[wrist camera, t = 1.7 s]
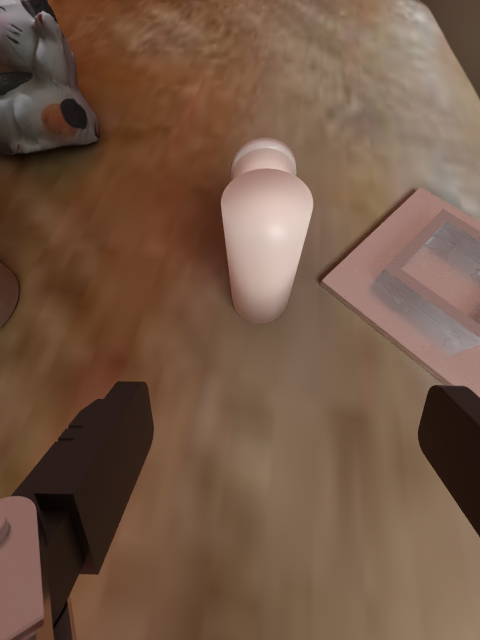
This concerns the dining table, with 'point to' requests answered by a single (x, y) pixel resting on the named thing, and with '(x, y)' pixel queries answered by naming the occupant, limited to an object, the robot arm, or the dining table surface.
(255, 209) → the elbow
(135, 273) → the dining table surface
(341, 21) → the dining table surface
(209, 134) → the dining table surface
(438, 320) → the plate
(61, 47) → the lucky cat figurine
